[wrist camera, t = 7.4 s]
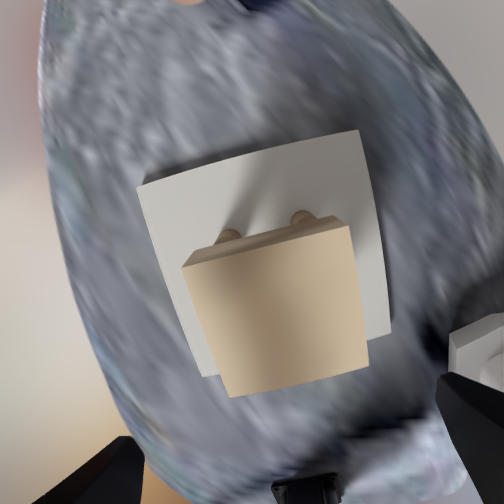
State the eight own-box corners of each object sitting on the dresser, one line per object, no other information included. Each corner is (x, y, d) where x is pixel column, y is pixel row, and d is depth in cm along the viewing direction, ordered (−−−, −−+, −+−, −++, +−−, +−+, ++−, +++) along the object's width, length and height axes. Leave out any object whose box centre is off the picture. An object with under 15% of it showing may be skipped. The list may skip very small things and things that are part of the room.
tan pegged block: (314, 203, 17) (348, 225, 11) (335, 300, 19) (369, 365, 12) (210, 229, 18) (180, 267, 11) (239, 323, 19) (229, 397, 13)
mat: (387, 327, 20) (391, 332, 19) (204, 370, 21) (202, 377, 21) (354, 130, 17) (358, 129, 16) (140, 186, 18) (135, 187, 17)
